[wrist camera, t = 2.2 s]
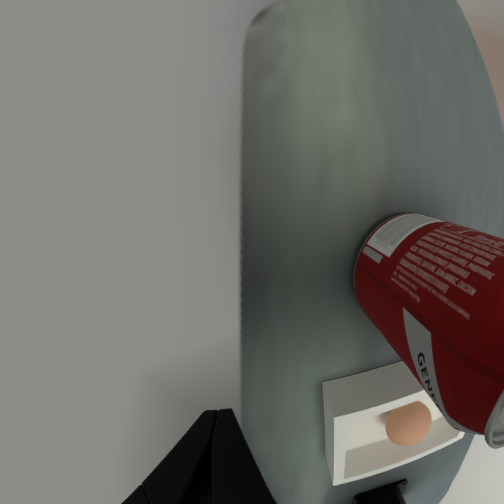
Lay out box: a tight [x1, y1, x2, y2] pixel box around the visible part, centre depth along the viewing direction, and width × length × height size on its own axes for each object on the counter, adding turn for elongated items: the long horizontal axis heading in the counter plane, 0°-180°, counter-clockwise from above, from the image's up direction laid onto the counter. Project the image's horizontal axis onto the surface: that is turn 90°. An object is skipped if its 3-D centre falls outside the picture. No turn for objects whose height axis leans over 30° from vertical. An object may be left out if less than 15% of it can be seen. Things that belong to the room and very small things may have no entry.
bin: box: [322, 361, 465, 486], centre depth 17 cm, size 9×12×4 cm
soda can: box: [353, 213, 504, 448], centre depth 10 cm, size 7×7×12 cm
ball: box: [385, 401, 432, 446], centre depth 16 cm, size 4×4×4 cm
